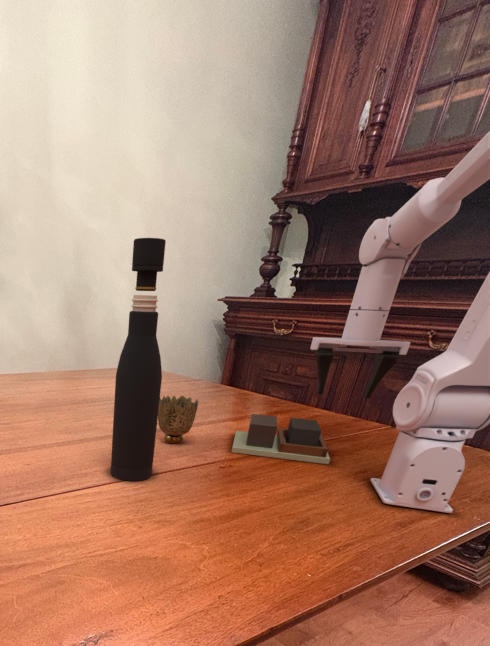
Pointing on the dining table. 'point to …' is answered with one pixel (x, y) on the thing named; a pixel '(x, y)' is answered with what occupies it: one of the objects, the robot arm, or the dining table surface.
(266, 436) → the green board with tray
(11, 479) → the dining table surface
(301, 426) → the loose block
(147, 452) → the black bottle
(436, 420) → the robot arm
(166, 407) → the cup
